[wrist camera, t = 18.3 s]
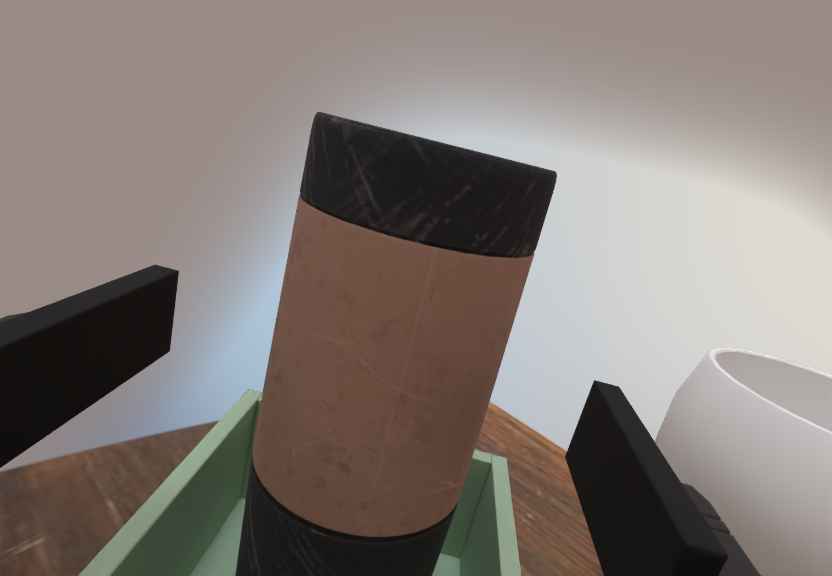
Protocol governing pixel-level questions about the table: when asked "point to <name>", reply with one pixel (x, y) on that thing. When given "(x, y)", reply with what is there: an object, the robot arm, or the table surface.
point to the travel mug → (384, 349)
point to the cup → (759, 455)
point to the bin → (225, 501)
